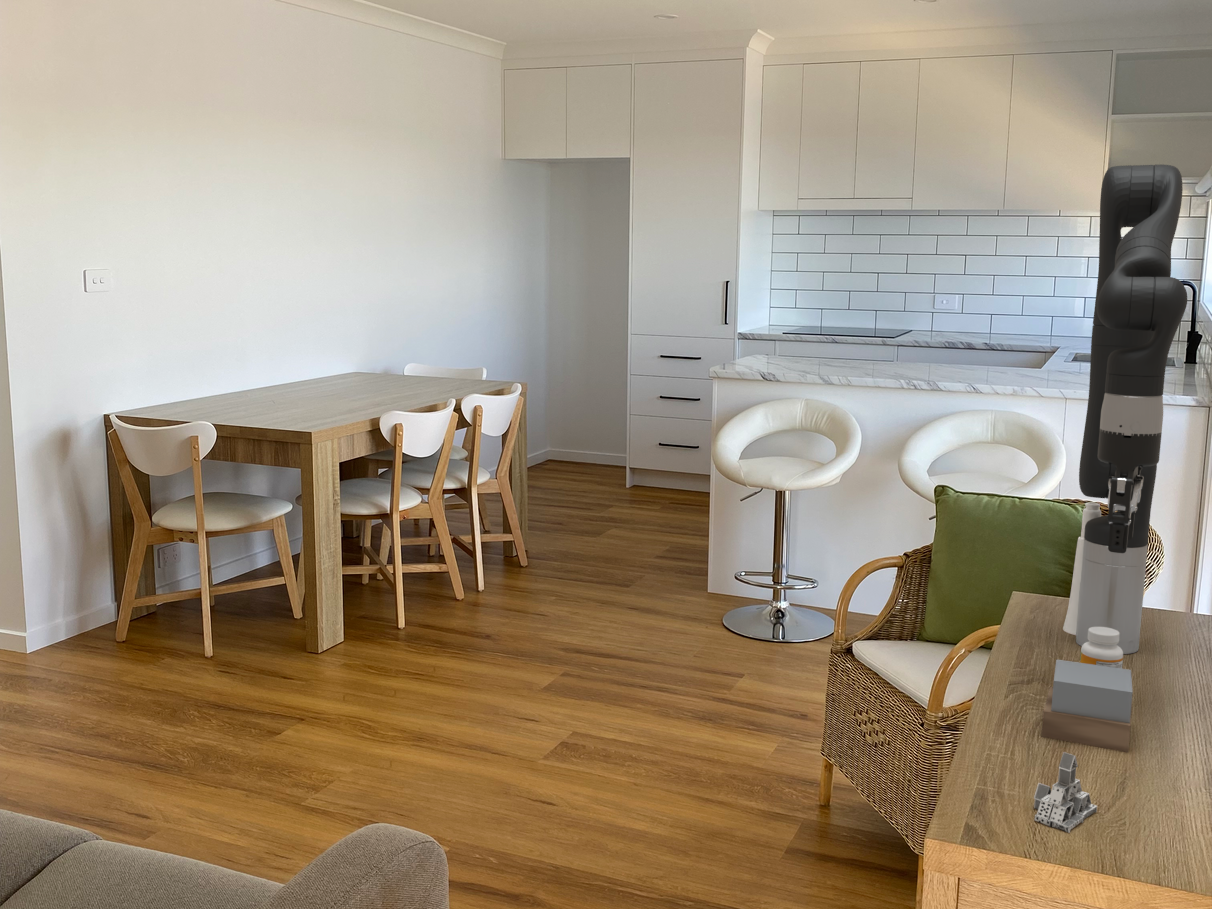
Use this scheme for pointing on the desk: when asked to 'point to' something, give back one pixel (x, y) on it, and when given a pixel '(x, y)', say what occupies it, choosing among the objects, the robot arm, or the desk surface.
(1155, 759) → the desk surface
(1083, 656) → the supplement bottle
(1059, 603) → the desk surface
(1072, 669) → the top block
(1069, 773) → the house of cards
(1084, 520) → the cosmetic bottle
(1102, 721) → the base block
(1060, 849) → the desk surface
